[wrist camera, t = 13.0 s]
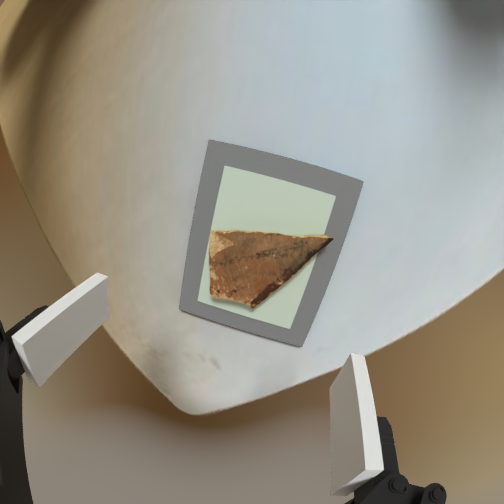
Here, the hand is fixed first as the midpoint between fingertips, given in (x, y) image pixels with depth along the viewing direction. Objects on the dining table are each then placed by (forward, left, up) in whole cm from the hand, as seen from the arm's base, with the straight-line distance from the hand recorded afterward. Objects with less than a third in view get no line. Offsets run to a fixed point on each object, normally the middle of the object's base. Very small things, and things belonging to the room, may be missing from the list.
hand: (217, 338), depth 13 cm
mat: (0, 0, -15) cm, 15 cm away
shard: (0, 0, -14) cm, 14 cm away
